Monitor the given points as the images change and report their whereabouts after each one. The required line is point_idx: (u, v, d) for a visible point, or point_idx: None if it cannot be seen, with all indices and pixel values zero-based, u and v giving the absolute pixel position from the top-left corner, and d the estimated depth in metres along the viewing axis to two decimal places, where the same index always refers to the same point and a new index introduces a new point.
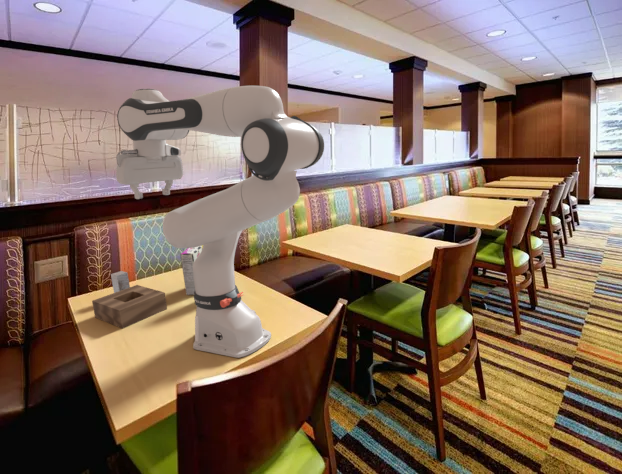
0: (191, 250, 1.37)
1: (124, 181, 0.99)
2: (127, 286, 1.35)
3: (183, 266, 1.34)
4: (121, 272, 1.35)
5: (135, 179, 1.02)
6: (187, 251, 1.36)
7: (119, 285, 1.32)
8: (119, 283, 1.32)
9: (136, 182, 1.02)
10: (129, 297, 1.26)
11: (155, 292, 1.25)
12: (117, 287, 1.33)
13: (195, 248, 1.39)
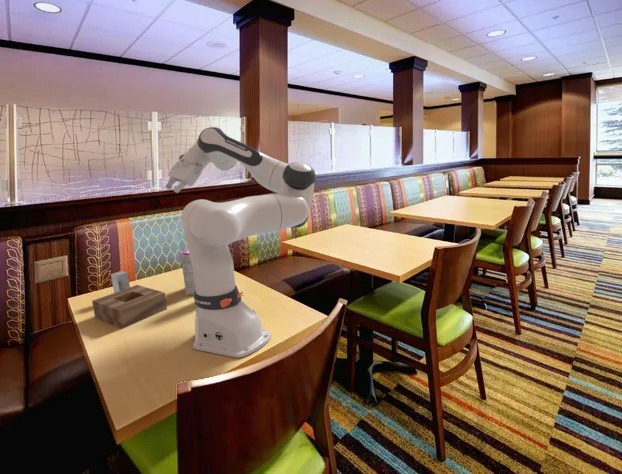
0: None
1: (192, 184, 1.33)
2: (127, 286, 1.35)
3: (183, 266, 1.34)
4: (121, 272, 1.35)
5: None
6: (187, 251, 1.36)
7: (119, 285, 1.32)
8: (119, 283, 1.32)
9: None
10: (129, 297, 1.26)
11: (155, 292, 1.25)
12: (117, 287, 1.33)
13: None
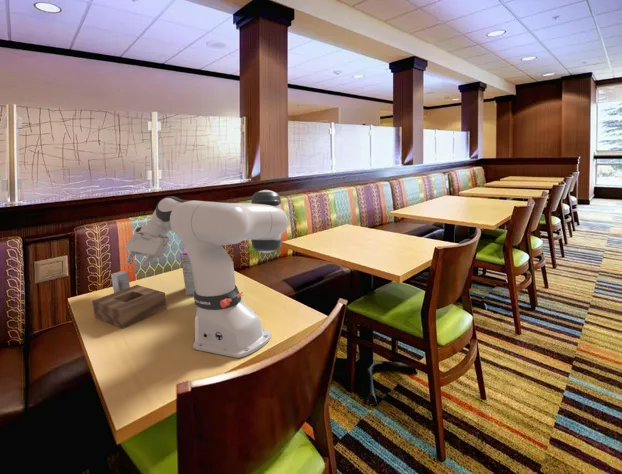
0: None
1: (161, 256, 1.38)
2: (127, 286, 1.35)
3: (183, 266, 1.34)
4: (121, 272, 1.35)
5: None
6: None
7: (119, 285, 1.32)
8: (119, 283, 1.32)
9: None
10: (129, 297, 1.26)
11: (155, 292, 1.25)
12: (117, 287, 1.33)
13: None
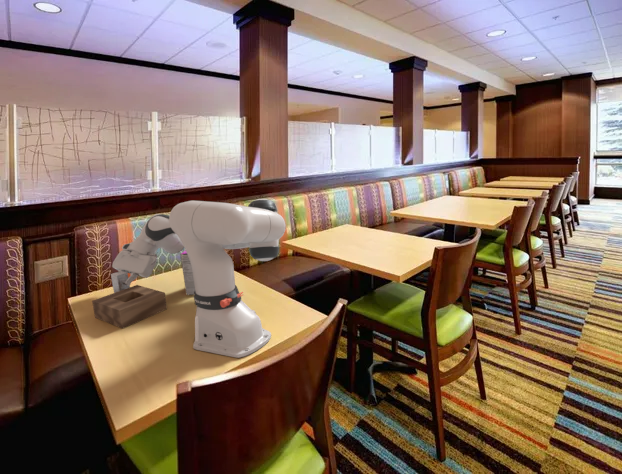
0: None
1: (149, 275, 1.33)
2: (127, 286, 1.35)
3: (183, 266, 1.34)
4: (121, 272, 1.35)
5: None
6: None
7: (119, 285, 1.32)
8: (119, 283, 1.32)
9: None
10: (129, 297, 1.26)
11: (155, 292, 1.25)
12: (117, 287, 1.33)
13: None
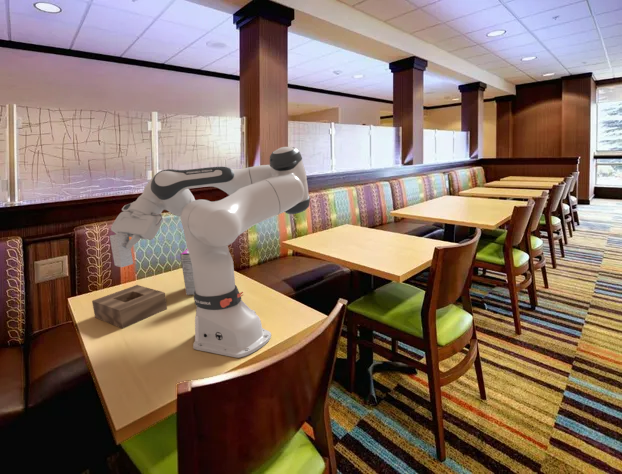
0: None
1: None
2: (128, 250, 1.18)
3: (183, 266, 1.34)
4: (121, 234, 1.18)
5: None
6: (187, 251, 1.36)
7: (119, 248, 1.15)
8: (119, 246, 1.15)
9: None
10: (129, 297, 1.26)
11: (155, 292, 1.25)
12: (117, 250, 1.16)
13: None
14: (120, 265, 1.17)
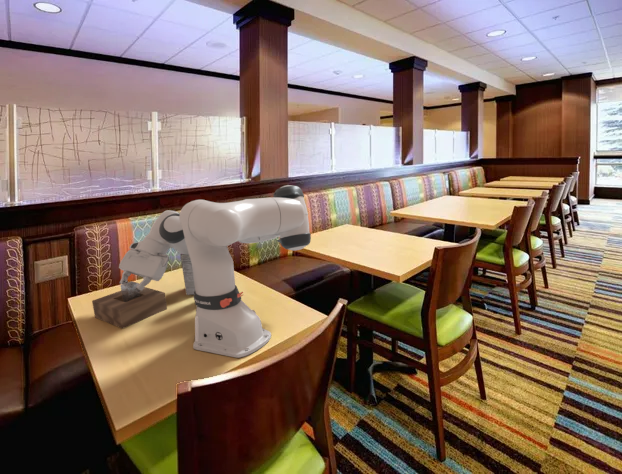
0: None
1: None
2: None
3: (183, 266, 1.34)
4: (132, 282, 1.23)
5: None
6: None
7: (129, 297, 1.21)
8: (130, 295, 1.21)
9: None
10: None
11: (155, 292, 1.25)
12: (127, 299, 1.21)
13: None
14: None
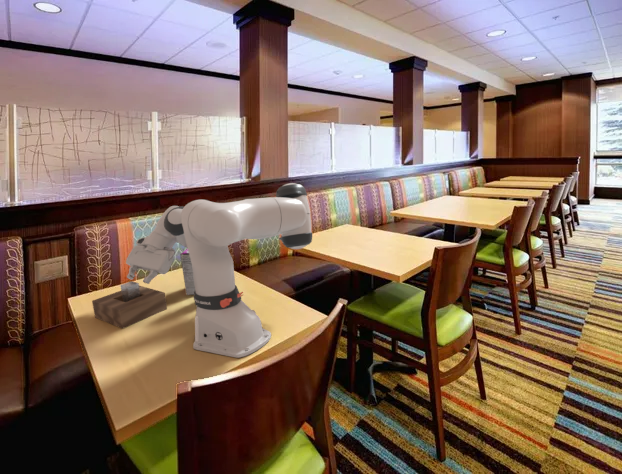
0: None
1: (166, 272, 1.23)
2: None
3: (183, 266, 1.34)
4: (132, 282, 1.23)
5: None
6: (187, 251, 1.36)
7: (129, 297, 1.21)
8: (130, 295, 1.21)
9: None
10: None
11: (155, 292, 1.25)
12: (127, 299, 1.21)
13: None
14: None
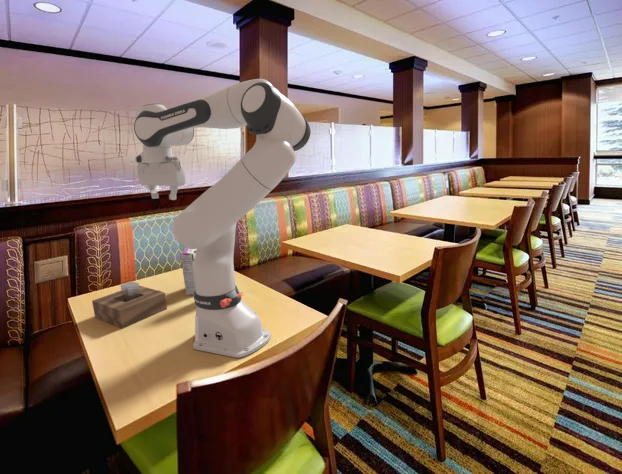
0: (191, 250, 1.37)
1: None
2: None
3: (183, 266, 1.34)
4: (132, 282, 1.23)
5: None
6: (187, 251, 1.36)
7: (129, 297, 1.21)
8: (130, 295, 1.21)
9: None
10: None
11: (155, 292, 1.25)
12: (127, 299, 1.21)
13: None
14: None
